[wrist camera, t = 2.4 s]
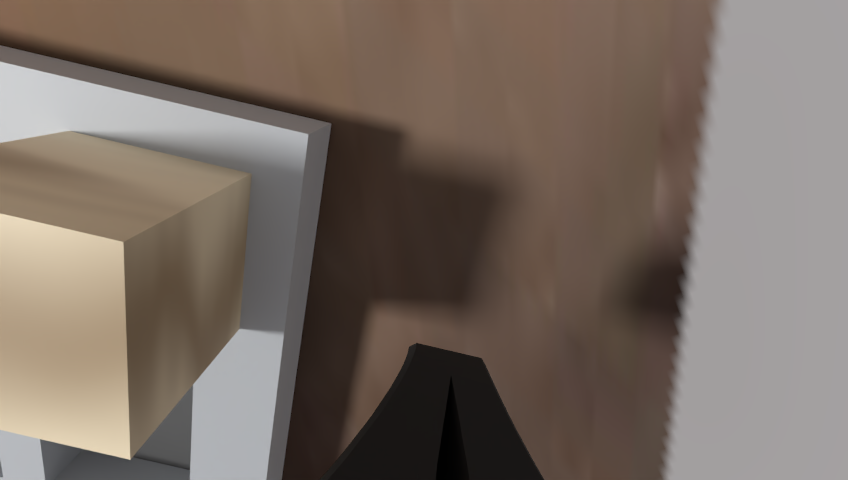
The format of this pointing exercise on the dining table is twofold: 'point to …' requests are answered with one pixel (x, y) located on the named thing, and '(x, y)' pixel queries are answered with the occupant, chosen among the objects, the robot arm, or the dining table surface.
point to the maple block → (112, 285)
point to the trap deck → (263, 271)
